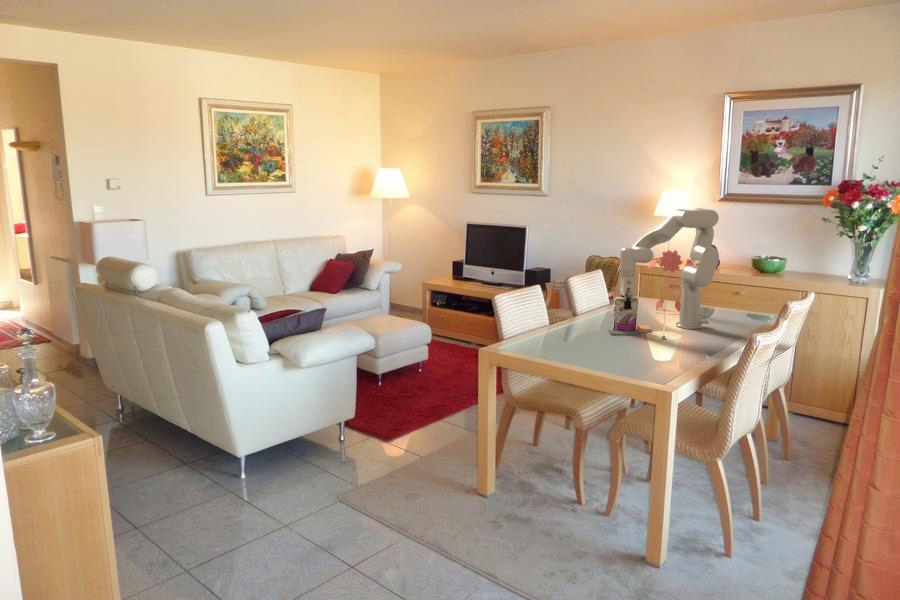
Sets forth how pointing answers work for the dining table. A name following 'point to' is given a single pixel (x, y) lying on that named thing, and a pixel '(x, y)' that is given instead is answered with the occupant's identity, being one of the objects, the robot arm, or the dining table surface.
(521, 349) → the dining table surface
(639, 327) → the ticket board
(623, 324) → the candy bar box
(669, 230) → the robot arm
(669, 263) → the pink artificial flower
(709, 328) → the dining table surface
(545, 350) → the dining table surface
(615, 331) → the rubber pad
